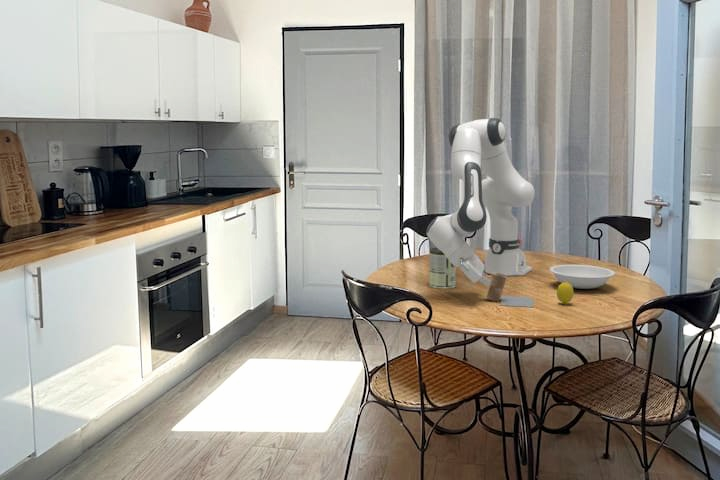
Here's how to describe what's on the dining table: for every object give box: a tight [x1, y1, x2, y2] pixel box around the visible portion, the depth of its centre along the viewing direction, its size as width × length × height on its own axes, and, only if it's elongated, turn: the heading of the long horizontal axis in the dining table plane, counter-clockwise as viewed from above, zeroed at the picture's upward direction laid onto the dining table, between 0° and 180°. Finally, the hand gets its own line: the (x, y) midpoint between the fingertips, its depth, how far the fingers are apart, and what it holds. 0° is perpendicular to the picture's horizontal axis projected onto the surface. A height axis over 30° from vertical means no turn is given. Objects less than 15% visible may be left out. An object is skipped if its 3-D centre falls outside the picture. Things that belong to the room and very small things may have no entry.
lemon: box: [556, 282, 574, 305], centre depth 261 cm, size 6×6×8 cm
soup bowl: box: [549, 264, 616, 290], centre depth 287 cm, size 24×24×7 cm
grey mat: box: [499, 295, 534, 308], centre depth 264 cm, size 11×14×1 cm
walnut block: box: [486, 272, 508, 303], centre depth 265 cm, size 4×4×9 cm
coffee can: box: [428, 247, 457, 290], centre depth 287 cm, size 10×10×14 cm
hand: (488, 284), depth 266 cm, fingers closed
